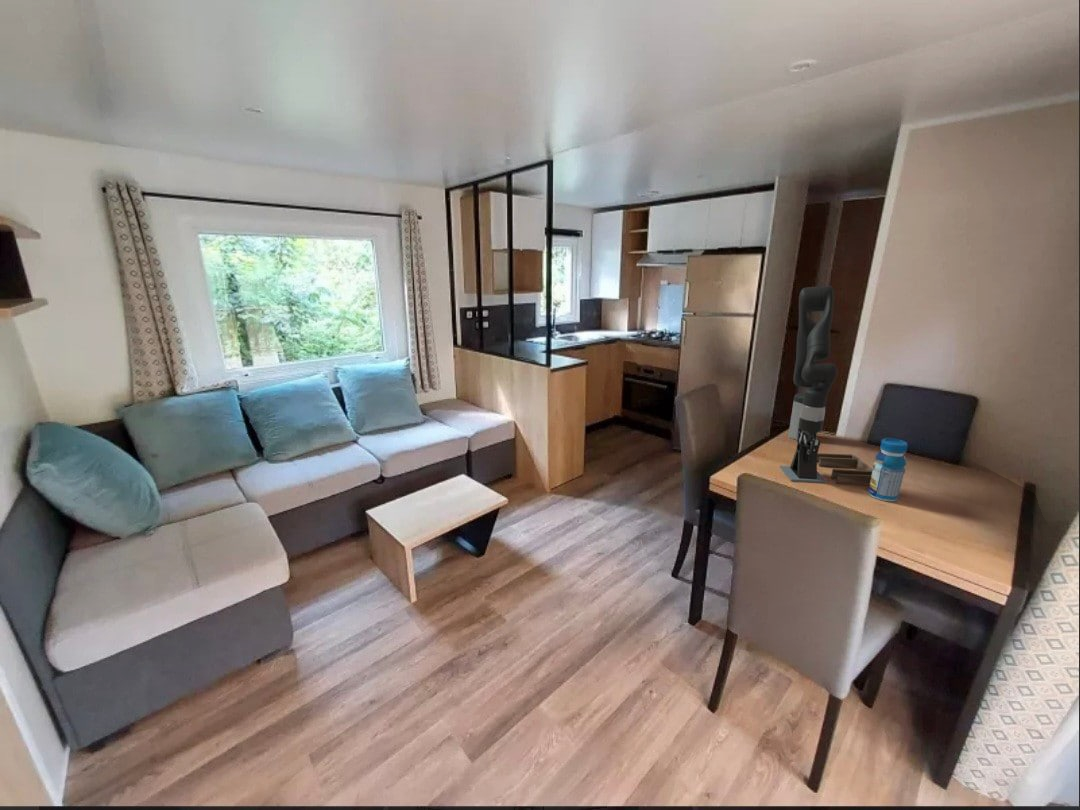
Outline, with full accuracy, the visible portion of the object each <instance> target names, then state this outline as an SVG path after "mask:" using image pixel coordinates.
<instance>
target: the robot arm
mask: <svg viewBox="0 0 1080 810" xmlns="http://www.w3.org/2000/svg"><path fill="white" fill-rule="evenodd" d="M834 291H835V290H834V288H833V286H831V285H821V286H807V287H803V288H802V289H801V291H800V292H799V296H798V328H797V335H796V352H795V353H796V359H795V364H794V371H793V376H792V377H793V378H792V379H793V384H794V385H795V386H797V387H803V388H806V389H805V390H804V391H803V392H799V393H798V392H797V393H796V394H795V395H794V397H793V403H792V411H791V416H790V423H789V429H788V437H789V438H790V439H792V440H796V443H797V444H798V443H805V448H806V458H805V463H806V464H811V463H812V461H813V455H817V454H818V453H819V449H820V445H821V440H820V439H818V437H817V434H818V433H820V432H822V431H823V428H824V427H823V426H824V420H825V414H826V405H827V404H826V403H827V398H828V394H829V392H830V390H831V388H832V385H833V384H834V382H835V381H836V378H837V375H838V368H837V366H836V365H835V364H834V363H832V362H819V361H825V360H827V359H829V358H830V356H831V329H832V322H833V315H834V303H835V292H834ZM810 312H811V313H812V312H822V315H821V317H820V319H819V320H818V322H817V323H816V321H814V319H813V318H812V316H811V315H810ZM808 444H809V445H810V446H809V445H808ZM809 448H810V449H809Z"/></svg>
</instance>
